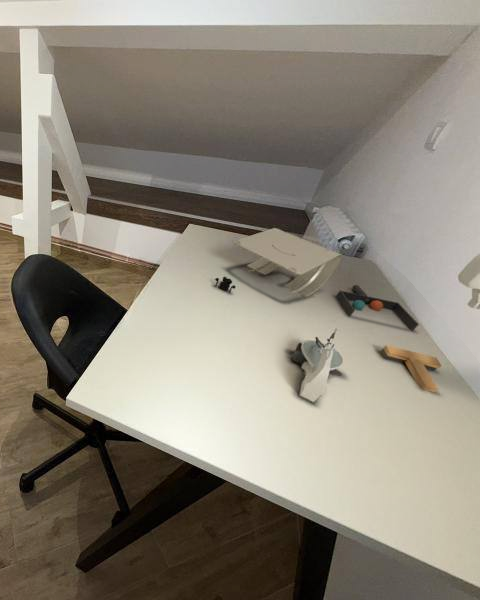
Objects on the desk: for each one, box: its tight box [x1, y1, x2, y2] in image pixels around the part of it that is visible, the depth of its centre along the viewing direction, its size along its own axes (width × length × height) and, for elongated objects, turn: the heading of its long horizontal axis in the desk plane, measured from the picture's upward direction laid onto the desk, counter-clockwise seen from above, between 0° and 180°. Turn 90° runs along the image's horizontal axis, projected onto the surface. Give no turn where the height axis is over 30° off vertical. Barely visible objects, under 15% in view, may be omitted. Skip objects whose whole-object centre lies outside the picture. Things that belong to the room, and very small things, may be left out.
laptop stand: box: [233, 227, 343, 298], centre depth 109 cm, size 26×24×16 cm
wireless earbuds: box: [214, 276, 237, 294], centre depth 104 cm, size 7×2×5 cm, turn 43°
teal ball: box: [351, 300, 366, 311], centre depth 101 cm, size 3×3×3 cm
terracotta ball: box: [369, 300, 383, 311], centre depth 102 cm, size 3×3×3 cm
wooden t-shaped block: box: [378, 344, 443, 393], centre depth 77 cm, size 11×12×3 cm
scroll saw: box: [288, 328, 344, 404], centre depth 71 cm, size 20×11×12 cm
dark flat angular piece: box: [335, 284, 420, 332], centre depth 104 cm, size 22×17×3 cm
